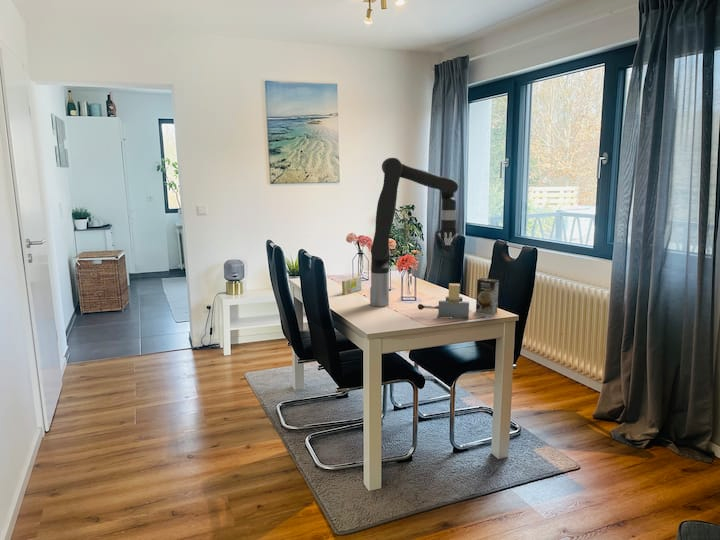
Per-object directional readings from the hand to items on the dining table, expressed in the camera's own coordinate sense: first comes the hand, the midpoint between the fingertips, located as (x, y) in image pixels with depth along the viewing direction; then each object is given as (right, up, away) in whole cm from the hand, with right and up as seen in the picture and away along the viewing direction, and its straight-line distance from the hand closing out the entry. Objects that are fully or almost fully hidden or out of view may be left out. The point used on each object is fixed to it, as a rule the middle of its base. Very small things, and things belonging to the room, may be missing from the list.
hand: (447, 252), depth 279 cm
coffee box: (+17, -30, -14) cm, 37 cm away
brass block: (-1, -31, -20) cm, 37 cm away
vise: (-5, -30, -18) cm, 36 cm away
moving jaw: (0, -30, -16) cm, 34 cm away
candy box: (-50, -23, +31) cm, 63 cm away
